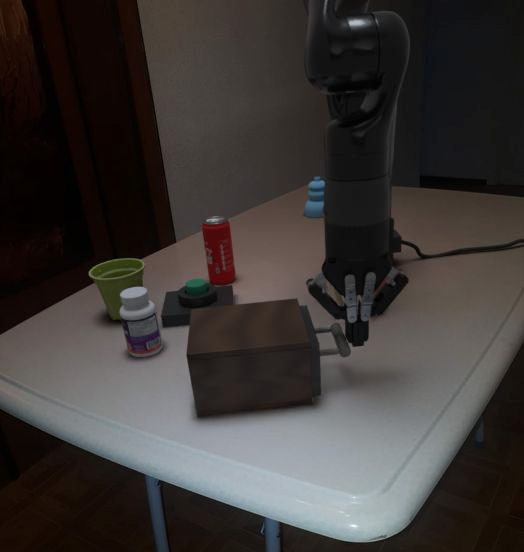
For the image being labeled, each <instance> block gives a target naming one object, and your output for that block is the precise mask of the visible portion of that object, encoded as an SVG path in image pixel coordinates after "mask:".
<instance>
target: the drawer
mask: <svg viewBox="0 0 524 552" xmlns="http://www.w3.org/2000/svg"><path fill="white" fill-rule="evenodd" d="M299 306H300V309H301V313H302V316H303V320H304V323H305V327H306V330H307V333H308V337H309V340H310V354H311V374H312V395H313V397H318V396H322V376H321V375H322V373H321V357H325V356H327V357H328V356H335V355H336V356H337V355H339V356H340V357H341V358H348V357H350V356H351V354H352V350H351V346H350V343H348V341H347V339H346V336H345V331H344V330H343V327H342V325H341V324H340V323H339V322H333V323H331V324H330V326H322V327H315V326H314V324H313V321H312V317H311V314H310V311H309V307H308V305H307V304H303V305H299ZM328 333H331V335H332V338H333V340H334V343H335V346H336V348H327V349H321V348H320V346H321V345H320V341H319V339H318V336H317V335H318V334H319V335H320V334H328Z"/></svg>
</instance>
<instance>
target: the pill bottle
mask: <svg viewBox="0 0 524 552" xmlns="http://www.w3.org/2000/svg"><path fill="white" fill-rule="evenodd" d="M148 291H149V290H148V289H147V288H146V287H144V286H143V287H132V288H128V289H126V290H124V291H122V292H121V294H120V297H121V302H122V304H123V306H122V307H121V309H120V318H121V320H120V322H121V326H122V330H123V334H124V339H125V342H126V347H127V351H128V353H129V354H130V355H131V356H132V357H136V358H147V357H151V356H154V355H156V354H158V353H159V352H160V351H161V350H162V349H163V347H164V343H163V337H162V332H161V326H160V323H159V317H158V311H157V307H156V305H155V303H154V302H153V301H151V300H150V296H149V295H150V294H149V292H148Z"/></svg>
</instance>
